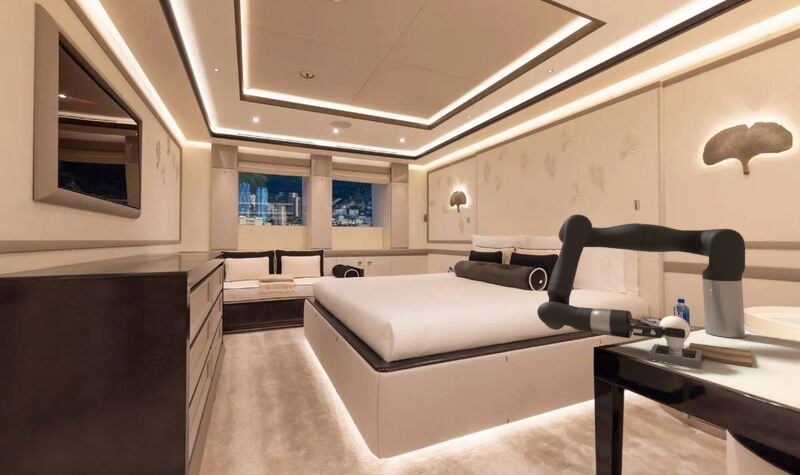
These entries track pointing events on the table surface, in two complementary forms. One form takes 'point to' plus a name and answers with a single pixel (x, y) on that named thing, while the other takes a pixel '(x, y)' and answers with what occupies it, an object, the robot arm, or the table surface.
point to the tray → (675, 359)
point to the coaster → (722, 354)
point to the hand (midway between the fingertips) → (686, 330)
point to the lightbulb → (674, 342)
